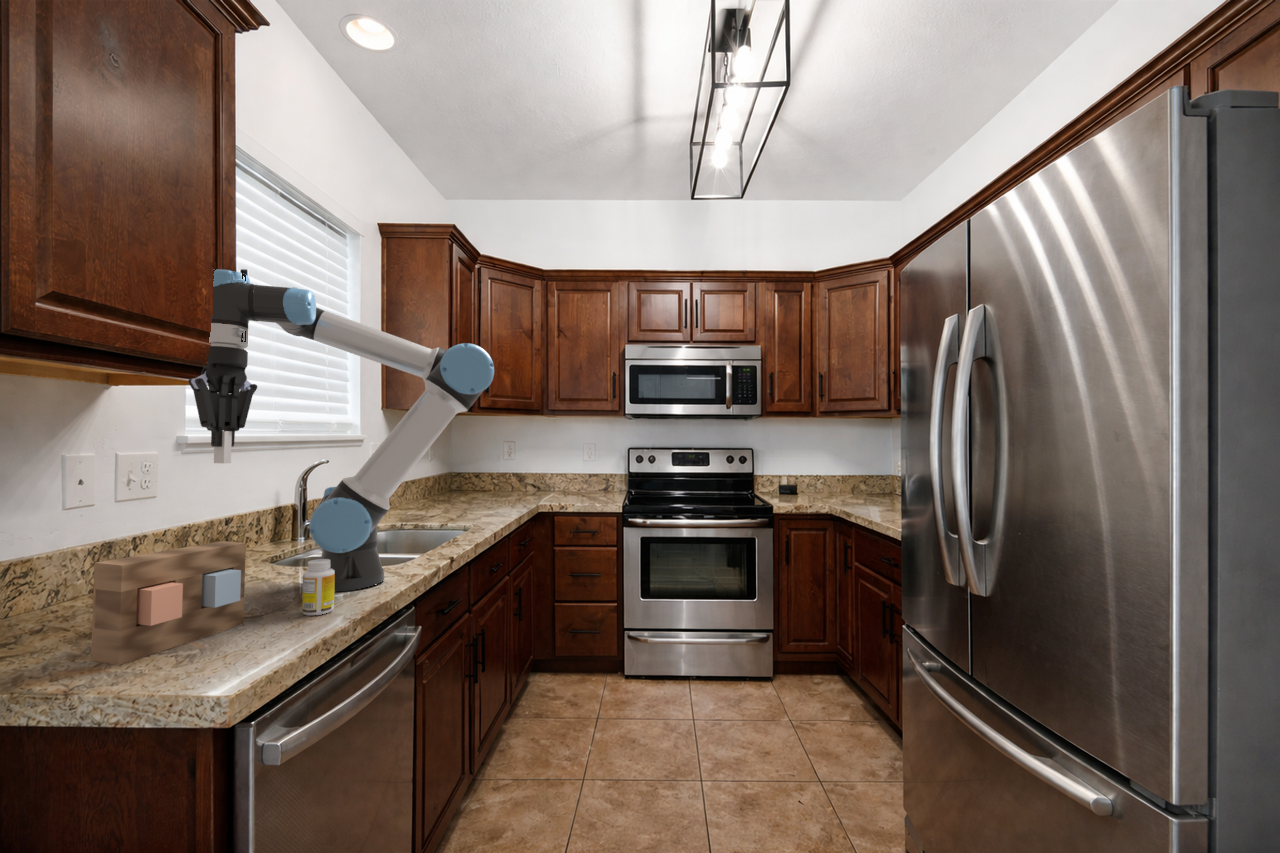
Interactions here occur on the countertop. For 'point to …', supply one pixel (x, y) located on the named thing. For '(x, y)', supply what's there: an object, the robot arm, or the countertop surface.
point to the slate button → (221, 587)
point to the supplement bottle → (318, 588)
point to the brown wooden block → (121, 578)
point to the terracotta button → (159, 603)
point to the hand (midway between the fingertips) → (222, 463)
